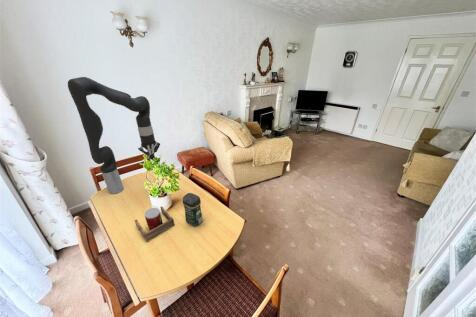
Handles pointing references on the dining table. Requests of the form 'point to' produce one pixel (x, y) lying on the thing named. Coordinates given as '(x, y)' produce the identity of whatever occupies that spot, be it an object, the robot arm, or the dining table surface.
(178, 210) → the dining table surface
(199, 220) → the coffee jar
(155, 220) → the canned food
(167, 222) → the corral
